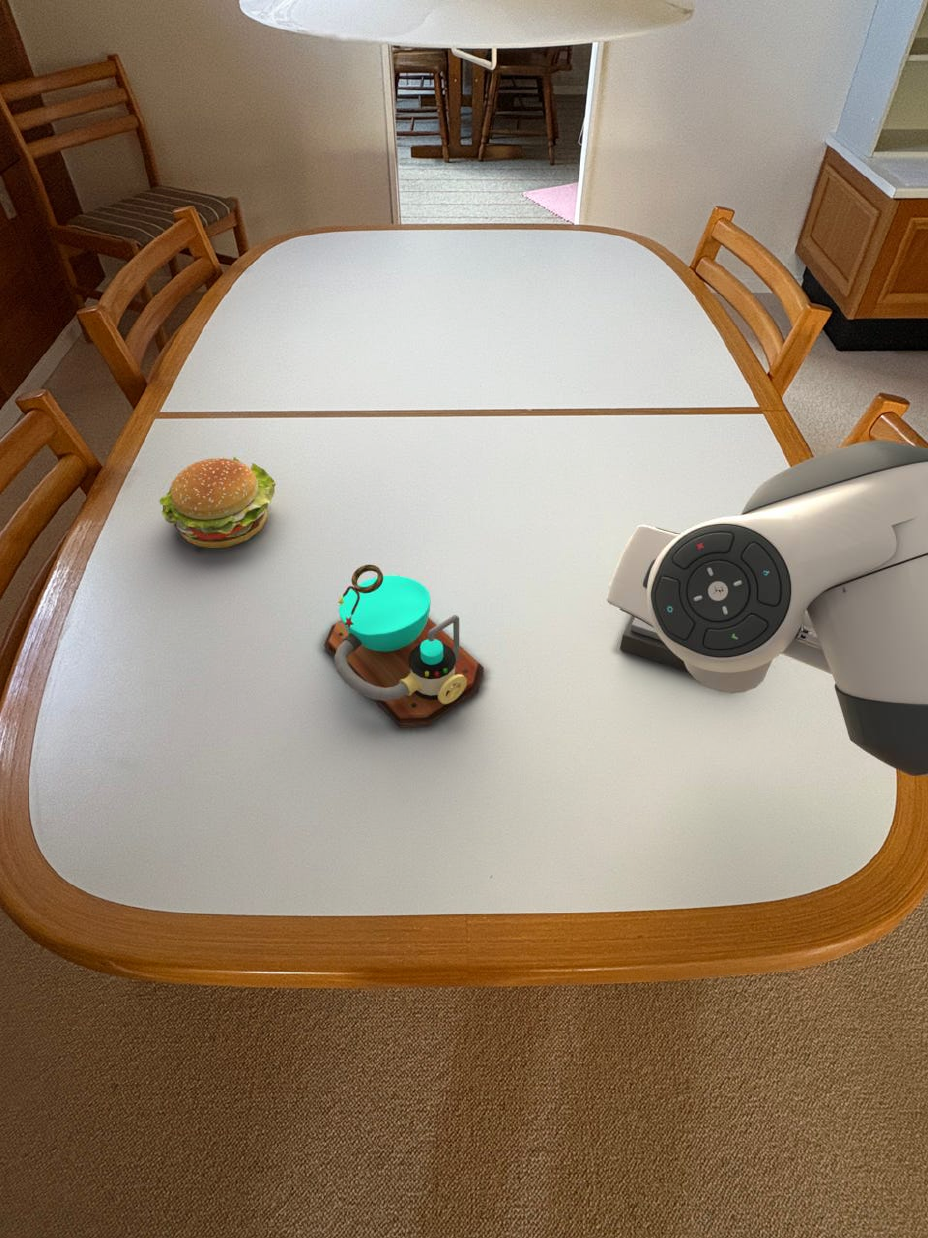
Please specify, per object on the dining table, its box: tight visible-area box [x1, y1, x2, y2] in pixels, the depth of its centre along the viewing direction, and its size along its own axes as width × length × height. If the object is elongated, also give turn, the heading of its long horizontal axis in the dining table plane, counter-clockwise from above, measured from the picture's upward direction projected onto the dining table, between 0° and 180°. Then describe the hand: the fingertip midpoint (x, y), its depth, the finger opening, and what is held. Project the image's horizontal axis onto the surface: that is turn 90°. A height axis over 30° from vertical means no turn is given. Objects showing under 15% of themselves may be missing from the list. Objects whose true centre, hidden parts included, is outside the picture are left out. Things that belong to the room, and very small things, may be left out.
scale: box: [619, 615, 691, 674], centre depth 90 cm, size 12×12×4 cm
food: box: [158, 456, 276, 549], centre depth 101 cm, size 14×14×8 cm
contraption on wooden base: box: [323, 564, 485, 728], centre depth 82 cm, size 14×18×15 cm
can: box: [684, 660, 773, 694], centre depth 68 cm, size 8×8×12 cm
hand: (741, 614), depth 68 cm, fingers closed on can, 7 cm apart
